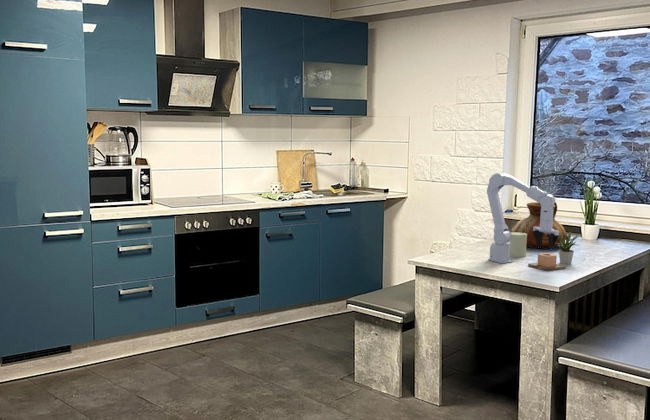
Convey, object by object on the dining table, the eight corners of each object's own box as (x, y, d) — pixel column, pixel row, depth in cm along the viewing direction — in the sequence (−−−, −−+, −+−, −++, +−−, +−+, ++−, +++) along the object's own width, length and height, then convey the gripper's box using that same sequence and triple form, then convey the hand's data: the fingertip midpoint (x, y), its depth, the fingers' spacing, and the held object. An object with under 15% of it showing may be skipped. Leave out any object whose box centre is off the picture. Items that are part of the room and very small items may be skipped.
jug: (559, 252, 352) (561, 206, 348) (503, 246, 367) (505, 202, 364) (570, 244, 377) (573, 201, 374) (518, 239, 393) (520, 197, 389)
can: (521, 258, 337) (522, 234, 336) (504, 255, 343) (505, 232, 342) (529, 255, 344) (530, 232, 342) (512, 253, 350) (513, 230, 349)
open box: (537, 264, 317) (537, 254, 316) (546, 263, 319) (547, 253, 319) (546, 266, 311) (547, 256, 311) (556, 265, 314) (556, 255, 313)
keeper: (528, 266, 318) (528, 256, 317) (546, 263, 324) (546, 254, 323) (547, 271, 307) (547, 261, 307) (565, 268, 313) (566, 259, 312)
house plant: (585, 267, 317) (587, 233, 314) (554, 266, 319) (556, 232, 317) (579, 261, 330) (581, 229, 328) (550, 260, 333) (552, 228, 331)
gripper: (529, 218, 318) (527, 245, 320) (552, 222, 306) (550, 251, 308) (539, 217, 322) (538, 244, 324) (563, 221, 309) (561, 249, 311)
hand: (544, 247), depth 316 cm, fingers open, 7 cm apart
